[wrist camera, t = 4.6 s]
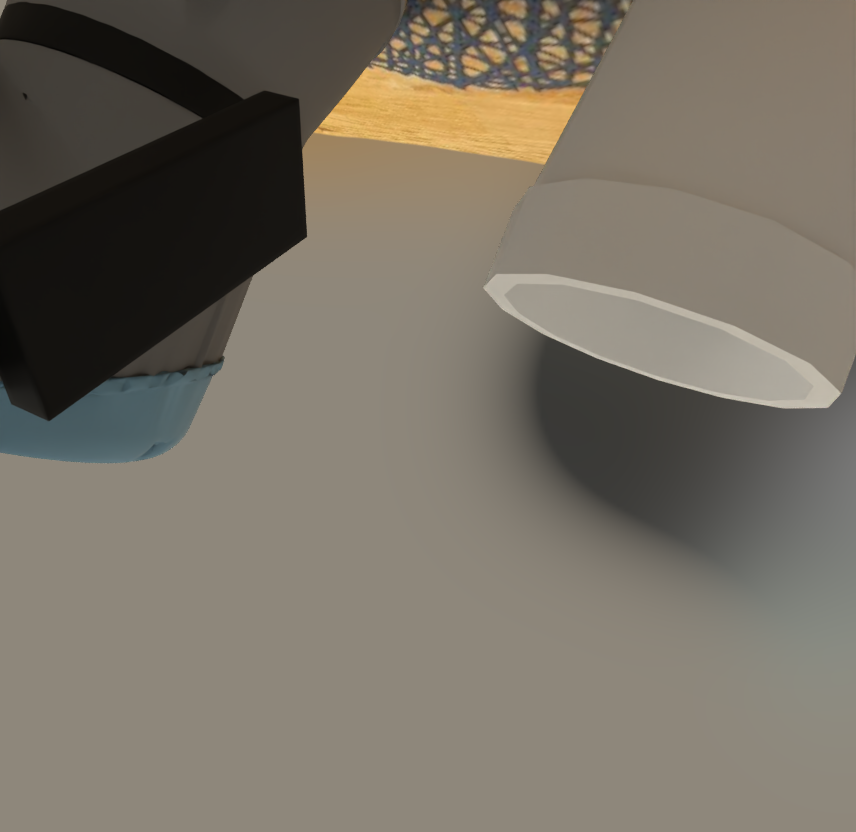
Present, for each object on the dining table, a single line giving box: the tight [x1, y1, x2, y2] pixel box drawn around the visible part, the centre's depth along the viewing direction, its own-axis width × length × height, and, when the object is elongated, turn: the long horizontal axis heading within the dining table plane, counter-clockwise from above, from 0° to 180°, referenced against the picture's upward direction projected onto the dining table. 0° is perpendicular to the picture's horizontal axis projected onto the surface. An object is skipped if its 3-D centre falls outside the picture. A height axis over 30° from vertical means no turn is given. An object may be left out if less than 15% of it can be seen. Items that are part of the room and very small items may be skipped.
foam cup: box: [484, 0, 856, 408], centre depth 21 cm, size 10×9×13 cm
